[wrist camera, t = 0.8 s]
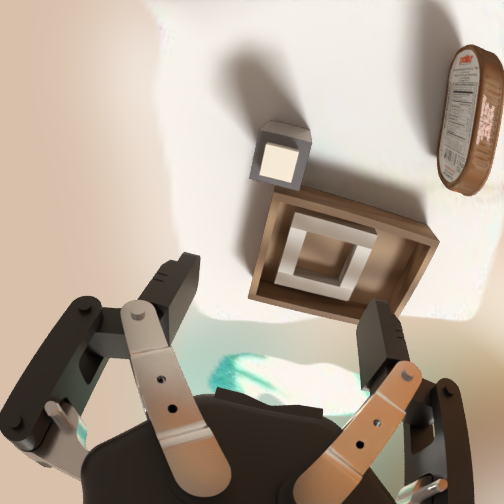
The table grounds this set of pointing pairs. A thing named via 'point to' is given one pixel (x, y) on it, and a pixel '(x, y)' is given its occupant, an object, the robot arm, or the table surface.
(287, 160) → the connector
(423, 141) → the table surface
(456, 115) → the tin
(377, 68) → the table surface
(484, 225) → the table surface
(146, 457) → the robot arm
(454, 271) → the table surface
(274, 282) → the box
